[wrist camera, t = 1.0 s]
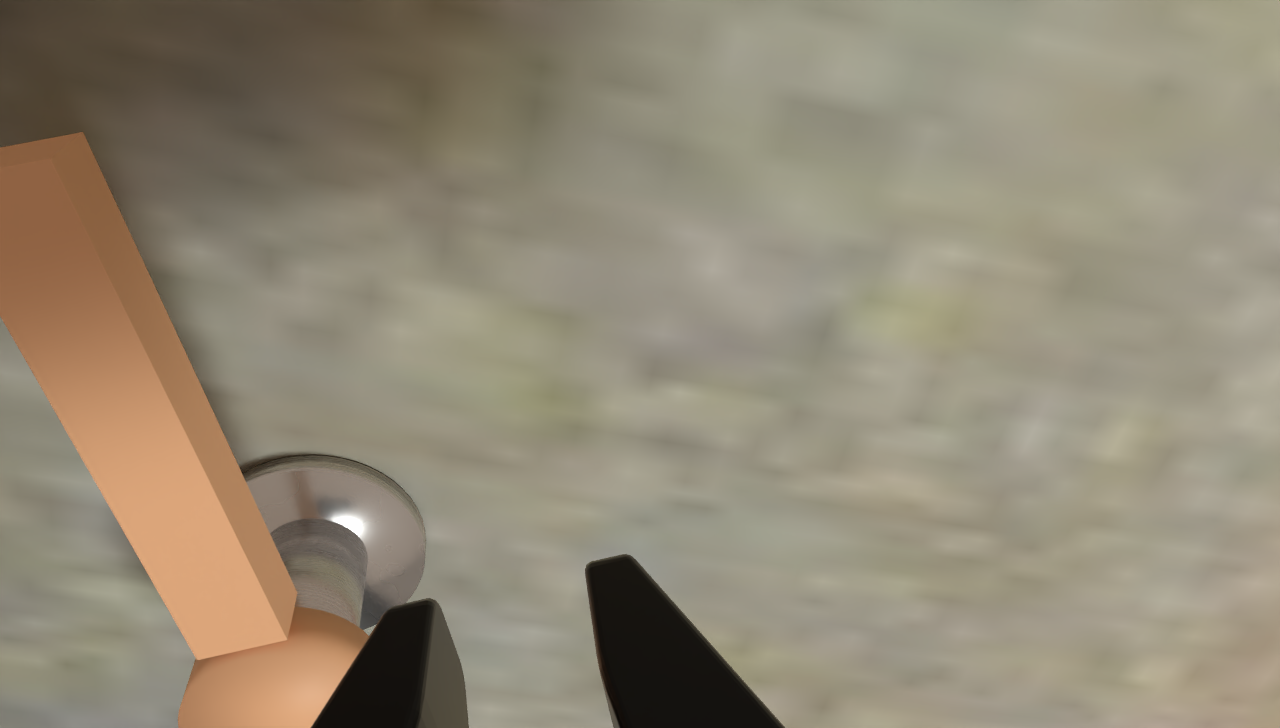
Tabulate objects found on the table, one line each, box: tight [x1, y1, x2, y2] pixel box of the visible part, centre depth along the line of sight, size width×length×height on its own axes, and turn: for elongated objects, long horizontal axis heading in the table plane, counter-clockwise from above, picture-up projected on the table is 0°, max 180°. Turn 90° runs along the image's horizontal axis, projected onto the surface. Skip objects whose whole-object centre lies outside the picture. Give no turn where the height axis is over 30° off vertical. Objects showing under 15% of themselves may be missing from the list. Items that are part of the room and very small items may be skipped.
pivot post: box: [242, 455, 426, 630], centre depth 21 cm, size 5×5×4 cm
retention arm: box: [0, 132, 369, 728], centre depth 16 cm, size 13×4×1 cm, turn 9°
